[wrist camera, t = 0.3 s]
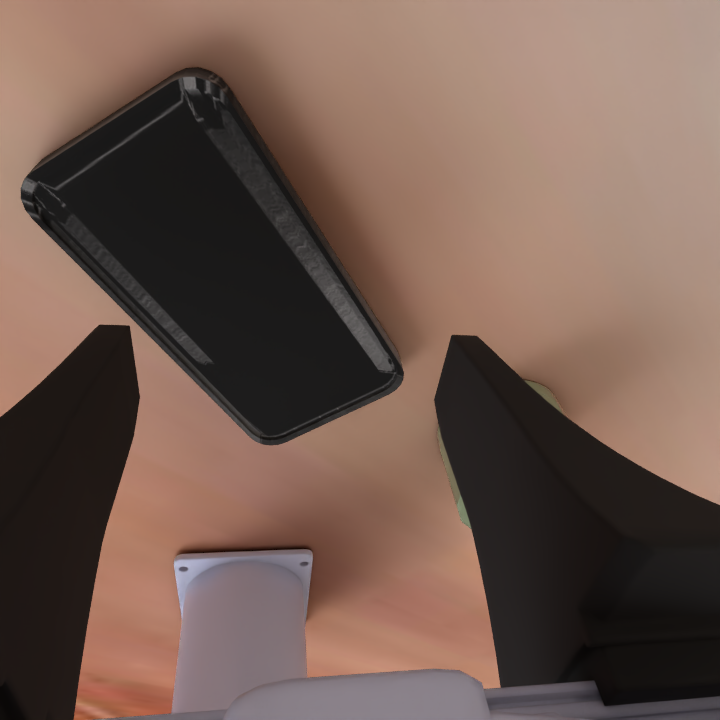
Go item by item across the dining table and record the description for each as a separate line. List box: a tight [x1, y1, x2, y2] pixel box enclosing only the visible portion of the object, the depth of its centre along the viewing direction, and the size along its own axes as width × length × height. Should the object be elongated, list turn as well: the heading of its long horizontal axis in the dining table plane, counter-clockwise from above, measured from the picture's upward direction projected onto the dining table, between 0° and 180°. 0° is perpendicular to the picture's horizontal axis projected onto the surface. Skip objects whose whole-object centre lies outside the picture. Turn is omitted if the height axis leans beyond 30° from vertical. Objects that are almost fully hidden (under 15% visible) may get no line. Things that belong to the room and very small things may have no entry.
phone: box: [21, 68, 404, 445], centre depth 23 cm, size 8×1×15 cm
